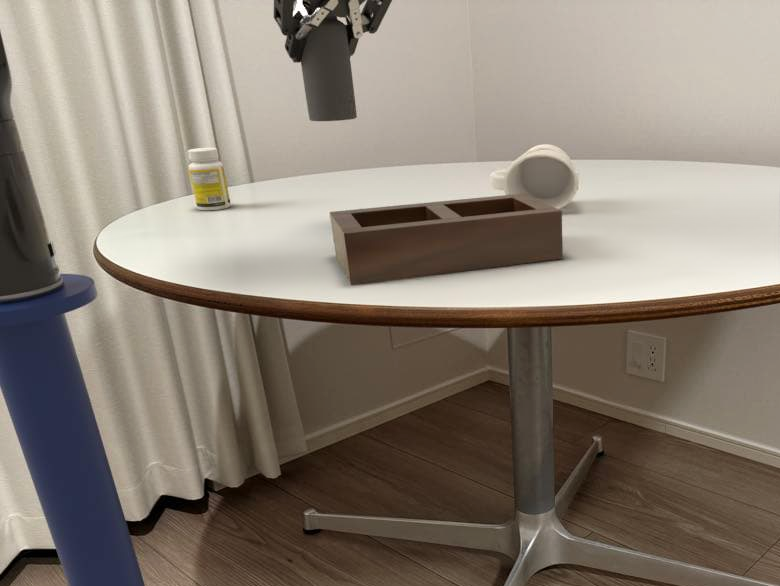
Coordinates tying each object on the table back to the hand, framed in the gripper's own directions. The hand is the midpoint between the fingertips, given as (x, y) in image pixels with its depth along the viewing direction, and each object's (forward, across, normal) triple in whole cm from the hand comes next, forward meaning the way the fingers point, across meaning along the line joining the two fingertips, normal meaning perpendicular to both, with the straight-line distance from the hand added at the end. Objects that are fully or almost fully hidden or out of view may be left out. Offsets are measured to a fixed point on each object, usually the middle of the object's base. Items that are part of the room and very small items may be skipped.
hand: (318, 55), depth 97 cm
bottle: (+4, 0, +6) cm, 8 cm away
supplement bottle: (+32, +8, -3) cm, 33 cm away
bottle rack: (-5, +2, +34) cm, 34 cm away
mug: (+5, -23, +24) cm, 33 cm away
